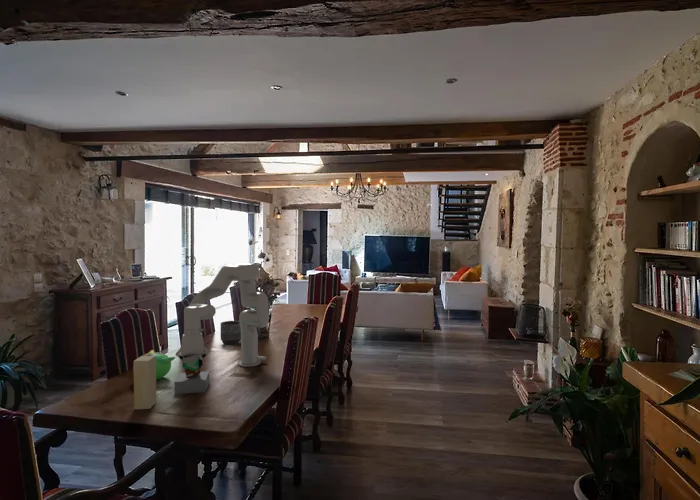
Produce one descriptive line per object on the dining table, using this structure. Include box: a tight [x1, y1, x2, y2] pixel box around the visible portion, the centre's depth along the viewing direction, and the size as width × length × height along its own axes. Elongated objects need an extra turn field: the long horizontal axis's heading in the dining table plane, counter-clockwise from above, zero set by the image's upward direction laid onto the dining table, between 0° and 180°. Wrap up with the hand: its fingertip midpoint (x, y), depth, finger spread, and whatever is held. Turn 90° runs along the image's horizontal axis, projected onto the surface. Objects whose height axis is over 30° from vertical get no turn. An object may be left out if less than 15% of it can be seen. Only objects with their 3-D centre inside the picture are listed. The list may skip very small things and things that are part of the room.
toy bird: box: [132, 349, 176, 381], centre depth 222 cm, size 18×17×15 cm
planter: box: [220, 320, 241, 346], centre depth 299 cm, size 14×14×15 cm
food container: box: [181, 355, 201, 378], centre depth 211 cm, size 12×6×10 cm, turn 1°
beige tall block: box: [133, 355, 157, 410], centre depth 187 cm, size 8×7×21 cm
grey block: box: [173, 370, 210, 395], centre depth 211 cm, size 14×14×6 cm
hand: (192, 367), depth 211 cm, fingers closed on food container, 6 cm apart
